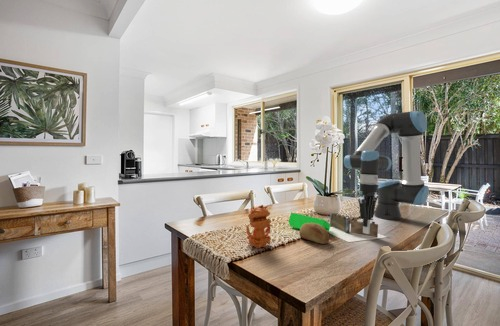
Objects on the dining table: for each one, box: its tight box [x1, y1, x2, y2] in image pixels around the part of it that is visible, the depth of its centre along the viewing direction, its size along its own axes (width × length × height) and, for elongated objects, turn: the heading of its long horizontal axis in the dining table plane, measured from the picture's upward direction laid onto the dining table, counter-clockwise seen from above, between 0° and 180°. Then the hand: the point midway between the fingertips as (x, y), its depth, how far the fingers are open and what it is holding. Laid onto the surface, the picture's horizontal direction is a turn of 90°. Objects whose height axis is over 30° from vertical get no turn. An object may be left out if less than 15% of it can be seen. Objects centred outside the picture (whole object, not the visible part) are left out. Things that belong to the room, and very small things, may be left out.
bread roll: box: [298, 223, 330, 245], centre depth 116 cm, size 10×15×8 cm, turn 39°
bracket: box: [288, 212, 331, 231], centre depth 133 cm, size 20×10×7 cm, turn 44°
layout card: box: [327, 223, 387, 243], centre depth 129 cm, size 23×23×1 cm
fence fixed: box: [329, 212, 347, 231], centre depth 135 cm, size 2×12×8 cm, turn 20°
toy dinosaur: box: [245, 204, 272, 249], centre depth 108 cm, size 11×11×18 cm
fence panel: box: [350, 218, 379, 237], centre depth 124 cm, size 12×1×7 cm, turn 57°
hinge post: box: [345, 216, 351, 233], centre depth 128 cm, size 2×2×8 cm
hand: (366, 233), depth 121 cm, fingers closed
